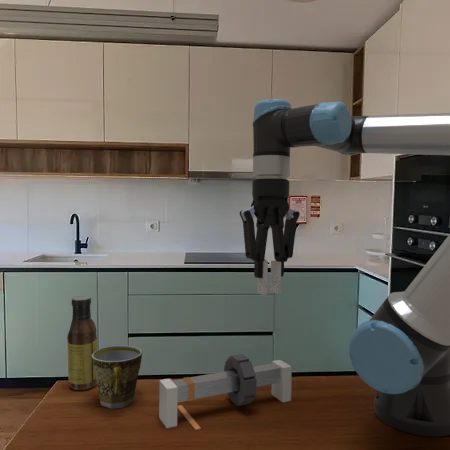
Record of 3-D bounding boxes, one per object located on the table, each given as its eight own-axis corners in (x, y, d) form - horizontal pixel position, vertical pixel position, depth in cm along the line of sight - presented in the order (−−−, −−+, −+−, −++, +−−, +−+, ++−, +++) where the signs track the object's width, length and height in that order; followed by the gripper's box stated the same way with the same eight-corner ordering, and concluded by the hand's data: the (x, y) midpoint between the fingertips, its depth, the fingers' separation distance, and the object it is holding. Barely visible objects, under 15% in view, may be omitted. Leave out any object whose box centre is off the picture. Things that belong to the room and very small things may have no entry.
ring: (234, 391, 90) (235, 349, 90) (256, 409, 82) (256, 363, 82) (223, 393, 89) (224, 351, 89) (244, 412, 81) (245, 365, 81)
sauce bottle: (86, 378, 99) (86, 293, 98) (104, 384, 95) (104, 296, 95) (61, 387, 94) (61, 297, 93) (78, 395, 90) (79, 301, 89)
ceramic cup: (92, 393, 91) (93, 346, 91) (140, 388, 94) (140, 343, 93) (89, 422, 78) (89, 369, 78) (144, 417, 81) (144, 364, 81)
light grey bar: (277, 376, 92) (277, 361, 91) (285, 382, 89) (285, 366, 89) (165, 397, 80) (165, 380, 80) (171, 404, 78) (171, 387, 78)
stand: (272, 387, 95) (272, 355, 95) (299, 406, 86) (299, 371, 86) (154, 411, 83) (155, 374, 83) (171, 435, 74) (172, 395, 74)
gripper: (291, 181, 94) (289, 287, 95) (228, 177, 87) (226, 292, 88) (313, 179, 87) (310, 293, 88) (246, 175, 80) (244, 299, 81)
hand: (268, 292), depth 88 cm, fingers open, 3 cm apart
